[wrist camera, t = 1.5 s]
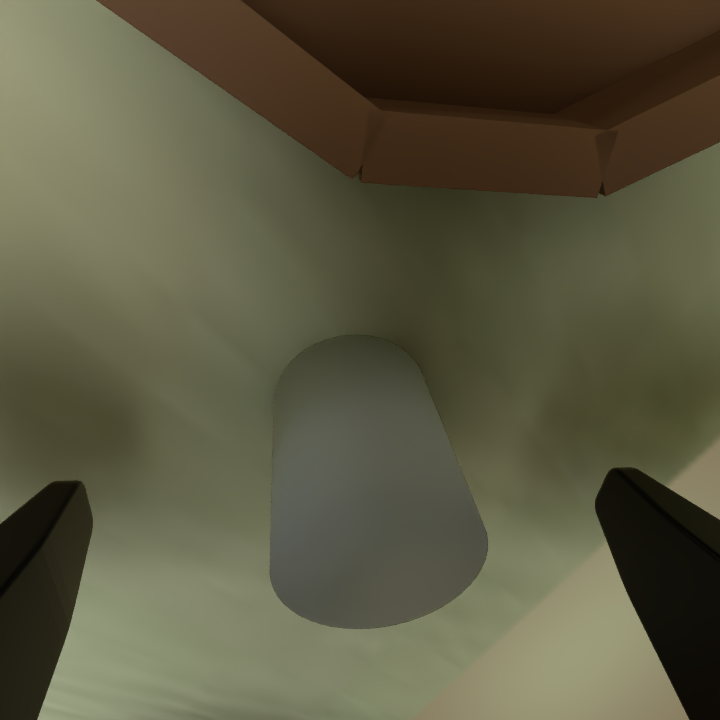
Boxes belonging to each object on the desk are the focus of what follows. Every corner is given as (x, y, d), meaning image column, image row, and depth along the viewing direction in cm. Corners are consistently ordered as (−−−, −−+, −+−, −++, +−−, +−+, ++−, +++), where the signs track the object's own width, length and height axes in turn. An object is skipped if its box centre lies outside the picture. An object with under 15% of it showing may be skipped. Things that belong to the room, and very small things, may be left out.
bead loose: (413, 456, 12) (465, 621, 9) (273, 459, 11) (269, 635, 8) (436, 336, 10) (511, 482, 7) (274, 333, 10) (269, 489, 6)
